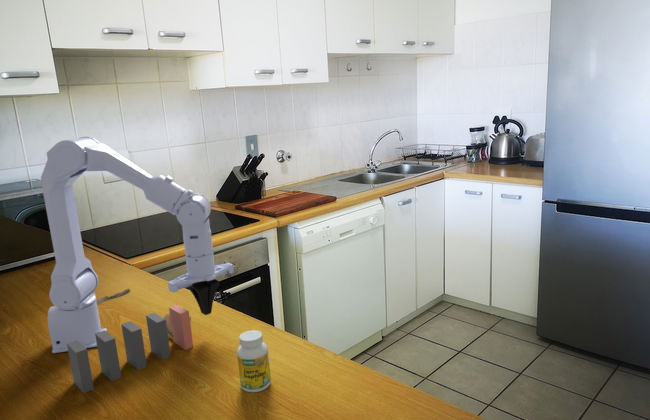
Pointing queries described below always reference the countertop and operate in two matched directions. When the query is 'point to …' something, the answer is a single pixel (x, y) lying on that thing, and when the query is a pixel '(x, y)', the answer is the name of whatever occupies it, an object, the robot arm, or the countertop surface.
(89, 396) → the countertop surface
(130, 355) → the domino
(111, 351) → the domino
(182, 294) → the countertop surface
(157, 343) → the domino
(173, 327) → the red domino
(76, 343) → the domino
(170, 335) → the shard
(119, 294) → the grey brown bark strip
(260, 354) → the supplement bottle
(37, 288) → the countertop surface
